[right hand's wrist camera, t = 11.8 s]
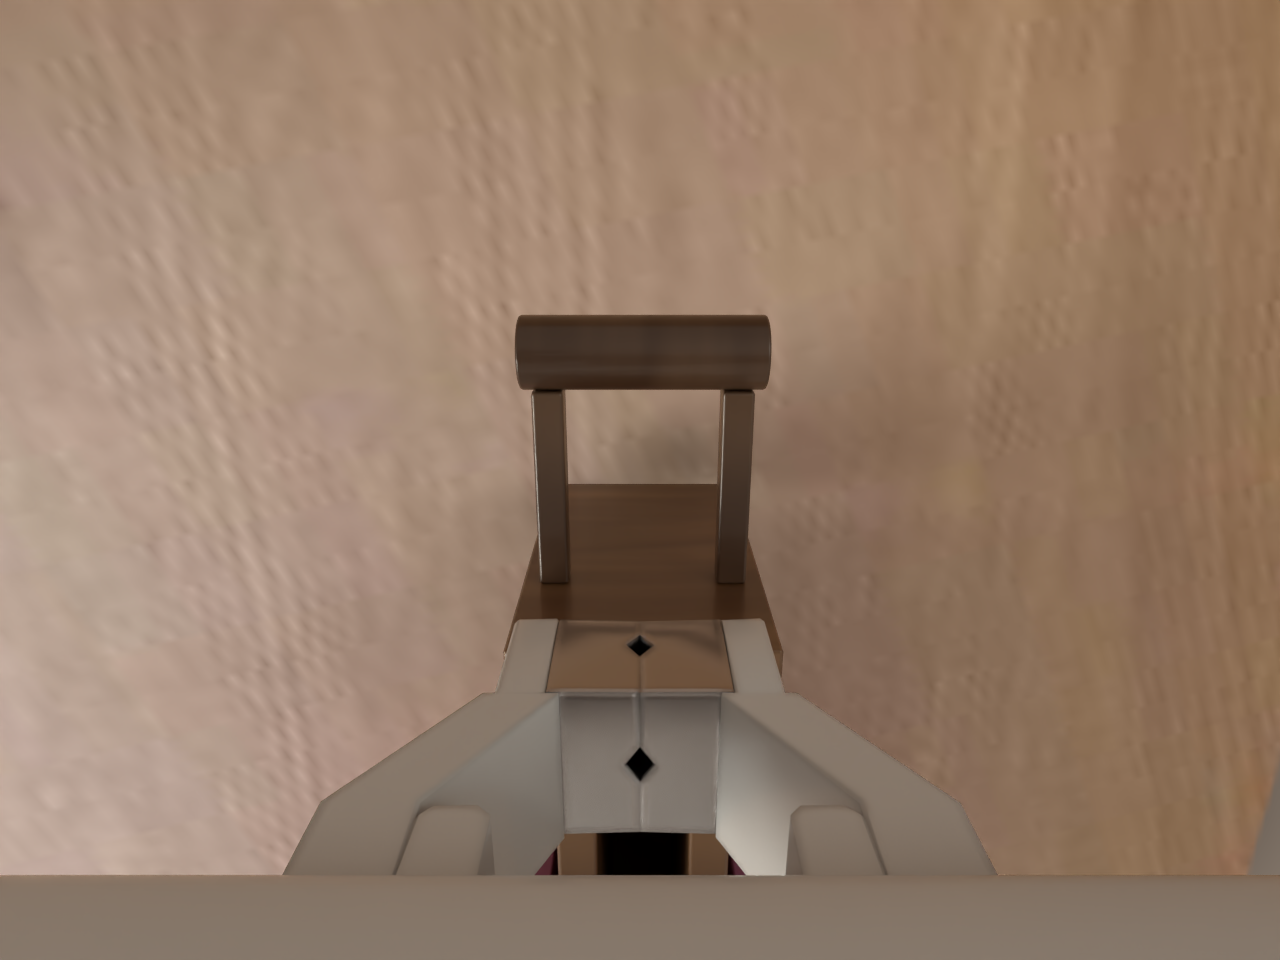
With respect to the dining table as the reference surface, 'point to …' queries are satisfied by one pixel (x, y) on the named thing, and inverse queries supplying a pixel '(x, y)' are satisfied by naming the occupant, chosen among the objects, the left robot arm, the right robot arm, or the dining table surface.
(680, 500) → the wooden drawer
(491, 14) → the dining table surface
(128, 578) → the dining table surface
